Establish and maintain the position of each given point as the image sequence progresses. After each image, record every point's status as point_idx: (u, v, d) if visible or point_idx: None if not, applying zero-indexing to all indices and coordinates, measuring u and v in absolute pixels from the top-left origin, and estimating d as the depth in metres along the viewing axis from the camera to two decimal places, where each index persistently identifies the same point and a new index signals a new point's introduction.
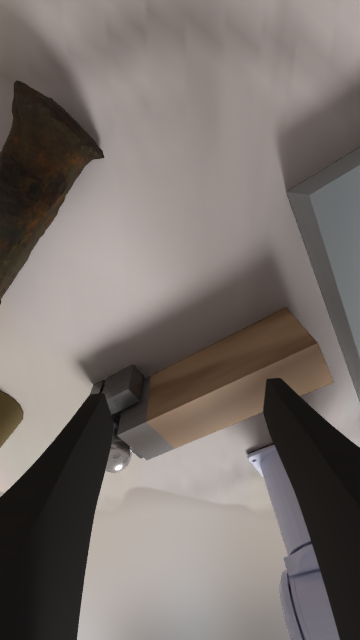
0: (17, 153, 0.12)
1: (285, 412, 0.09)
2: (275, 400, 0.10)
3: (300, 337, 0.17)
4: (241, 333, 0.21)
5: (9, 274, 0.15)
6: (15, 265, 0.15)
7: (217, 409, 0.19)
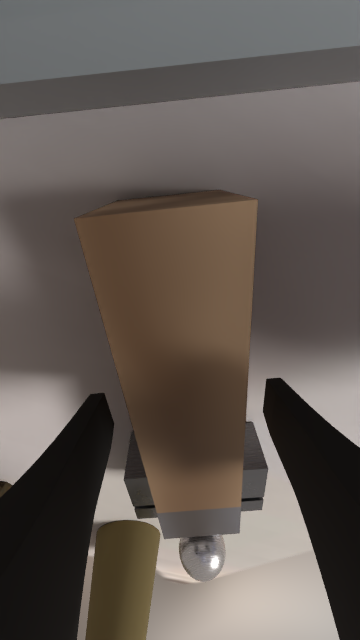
0: None
1: (285, 412, 0.09)
2: (275, 400, 0.10)
3: None
4: None
5: None
6: None
7: (186, 442, 0.09)
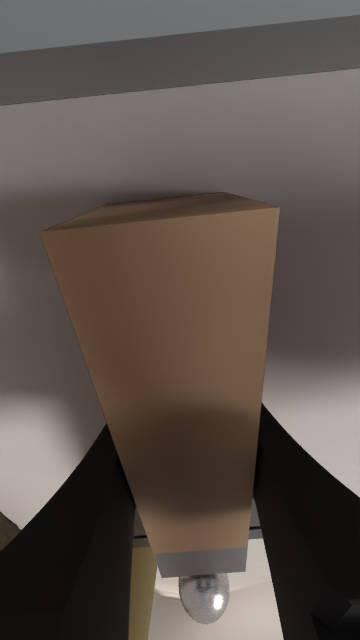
0: None
1: None
2: None
3: None
4: None
5: None
6: None
7: (187, 485, 0.08)
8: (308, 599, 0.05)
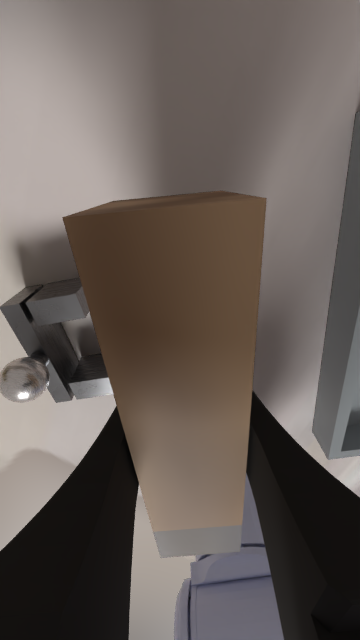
0: None
1: None
2: None
3: None
4: None
5: None
6: None
7: (185, 459, 0.09)
8: (308, 599, 0.05)
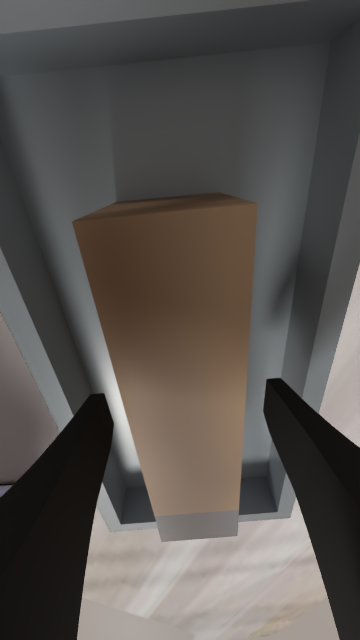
0: None
1: (285, 412, 0.09)
2: (275, 400, 0.10)
3: None
4: None
5: None
6: None
7: (185, 446, 0.09)
8: None
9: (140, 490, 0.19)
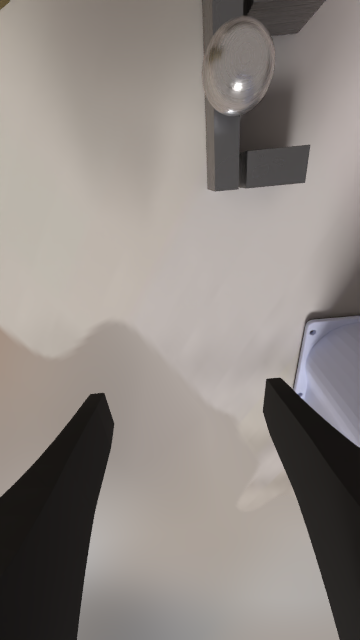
0: None
1: (285, 412, 0.09)
2: (275, 400, 0.10)
3: None
4: None
5: None
6: None
7: None
8: None
9: None
